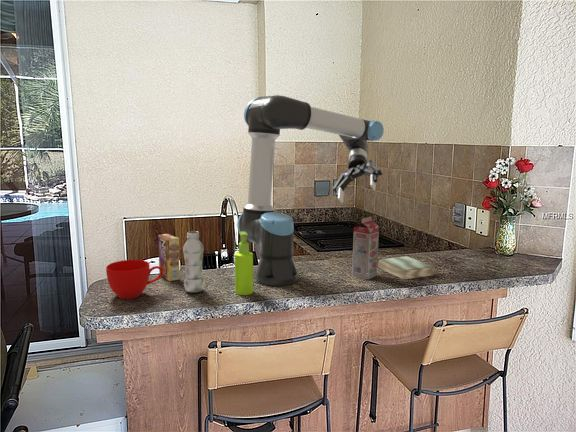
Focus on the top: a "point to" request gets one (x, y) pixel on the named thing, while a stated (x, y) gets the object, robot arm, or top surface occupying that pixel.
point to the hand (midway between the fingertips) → (356, 194)
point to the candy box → (169, 257)
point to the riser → (406, 267)
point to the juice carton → (365, 249)
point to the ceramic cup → (129, 277)
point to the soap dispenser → (243, 268)
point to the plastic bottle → (193, 263)
